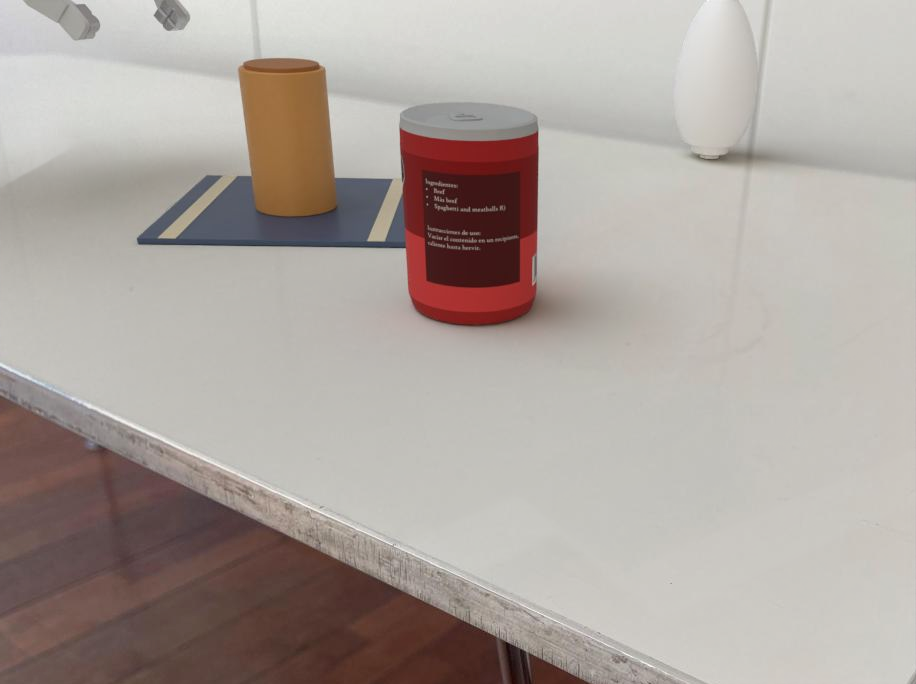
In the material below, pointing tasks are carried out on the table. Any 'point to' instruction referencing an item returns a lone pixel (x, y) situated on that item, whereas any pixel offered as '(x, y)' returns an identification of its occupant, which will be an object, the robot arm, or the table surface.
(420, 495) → the table surface
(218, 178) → the placemat
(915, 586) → the table surface
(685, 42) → the white tall oval piece
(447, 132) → the canned food
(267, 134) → the lidded tan canister
